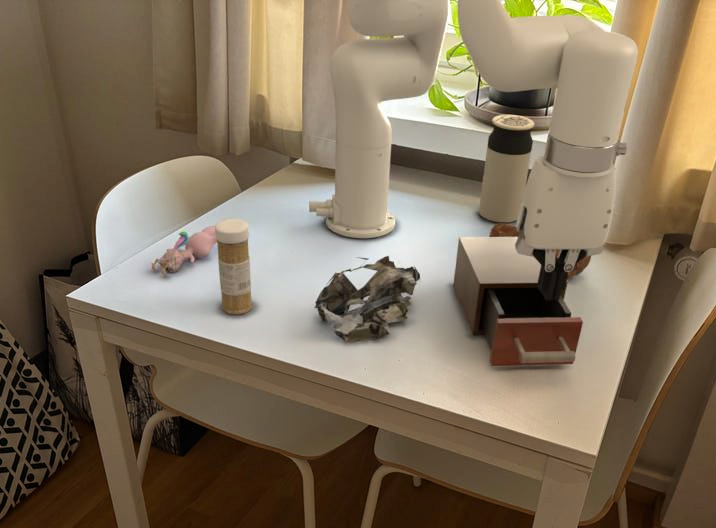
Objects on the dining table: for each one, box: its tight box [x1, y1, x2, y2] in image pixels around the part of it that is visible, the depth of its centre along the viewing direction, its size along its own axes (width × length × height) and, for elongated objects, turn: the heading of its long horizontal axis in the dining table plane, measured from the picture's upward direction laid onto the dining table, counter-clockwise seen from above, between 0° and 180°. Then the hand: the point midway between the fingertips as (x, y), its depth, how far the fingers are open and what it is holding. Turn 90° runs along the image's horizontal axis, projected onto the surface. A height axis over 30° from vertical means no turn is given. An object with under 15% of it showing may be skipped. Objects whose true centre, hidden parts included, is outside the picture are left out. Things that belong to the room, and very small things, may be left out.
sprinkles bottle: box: [214, 218, 253, 316], centre depth 109 cm, size 5×5×14 cm
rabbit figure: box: [150, 225, 217, 277], centre depth 123 cm, size 6×6×15 cm
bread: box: [488, 222, 592, 280], centre depth 129 cm, size 6×19×6 cm, turn 41°
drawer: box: [480, 288, 584, 367], centre depth 105 cm, size 18×11×7 cm, turn 7°
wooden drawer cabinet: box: [452, 236, 568, 337], centre depth 114 cm, size 15×13×9 cm
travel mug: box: [478, 114, 535, 224], centre depth 141 cm, size 8×8×18 cm
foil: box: [314, 255, 421, 343], centre depth 110 cm, size 12×11×15 cm
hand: (549, 294), depth 95 cm, fingers closed
